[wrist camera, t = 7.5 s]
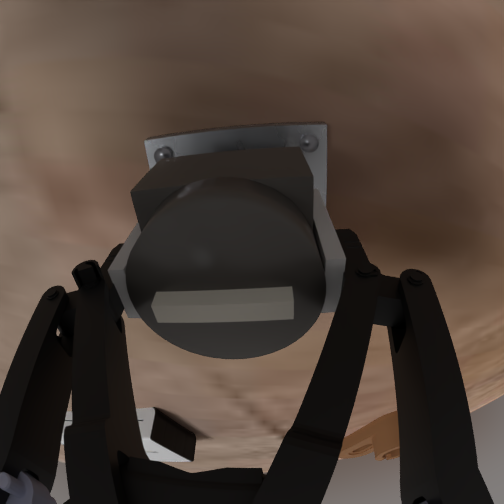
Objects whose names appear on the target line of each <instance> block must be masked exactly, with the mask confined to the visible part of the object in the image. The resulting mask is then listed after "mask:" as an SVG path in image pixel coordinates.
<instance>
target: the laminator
mask: <svg viewBox="0 0 504 504" xmlns="http://www.w3.org/2000/svg"><path fill="white" fill-rule="evenodd" d="M136 413H137V418H138V423H139V428H140V433H141V438H142V442H143V446H144V450H145V452H146V454H147V456H148V458H149V459H150V460H154V461H168V462H192V461H194V454H195V446H196V436H195V434H193V433H191V432H189V431H188V430H186V429H185V428H183V427H182V426H180V425H179V424H177V423H175V422H174V421H173V420H171V419H170V418H168V417H167V416H165V415H164V414H162V413H161V412H160V411H158V410H157V409H156V408H155V407H151V408H140V409H136ZM71 424H72V411H67V412H66V417H65V422H64V428H63V433H62V439H61V444H63V445H64V429H65V427H66V426H69V425H71Z"/></svg>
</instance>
